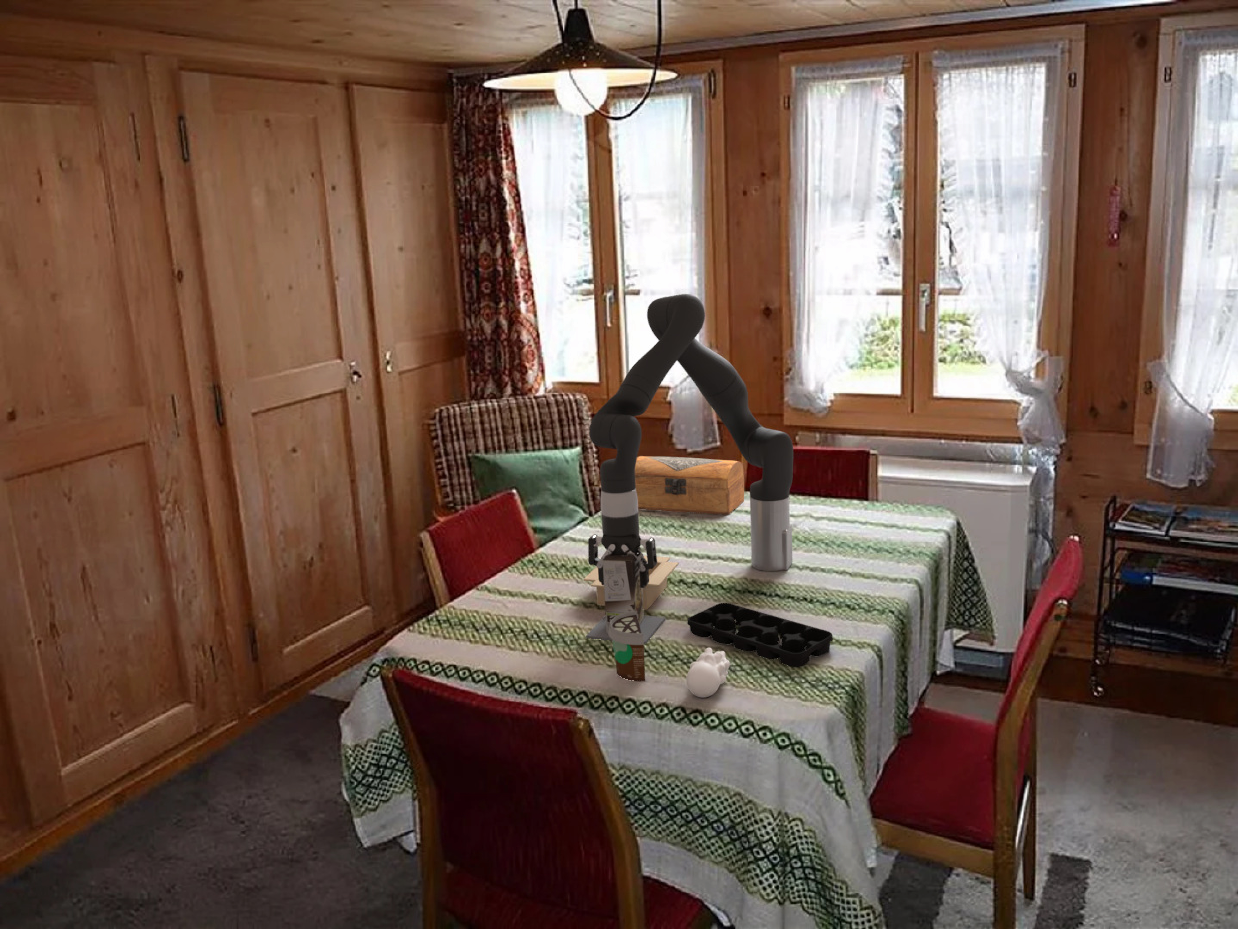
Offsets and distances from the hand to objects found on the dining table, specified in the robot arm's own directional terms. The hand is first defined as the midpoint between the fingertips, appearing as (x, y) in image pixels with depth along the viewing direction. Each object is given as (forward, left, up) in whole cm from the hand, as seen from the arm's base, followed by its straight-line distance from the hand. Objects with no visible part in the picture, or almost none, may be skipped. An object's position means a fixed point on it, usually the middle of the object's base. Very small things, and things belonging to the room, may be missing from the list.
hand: (623, 585), depth 223 cm
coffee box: (0, 0, -9) cm, 9 cm away
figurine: (-24, +23, -10) cm, 34 cm away
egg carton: (-28, 0, -10) cm, 30 cm away
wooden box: (+14, -90, -10) cm, 91 cm away
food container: (-7, +20, -10) cm, 23 cm away
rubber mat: (0, 0, -10) cm, 10 cm away
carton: (+5, -18, -10) cm, 21 cm away
